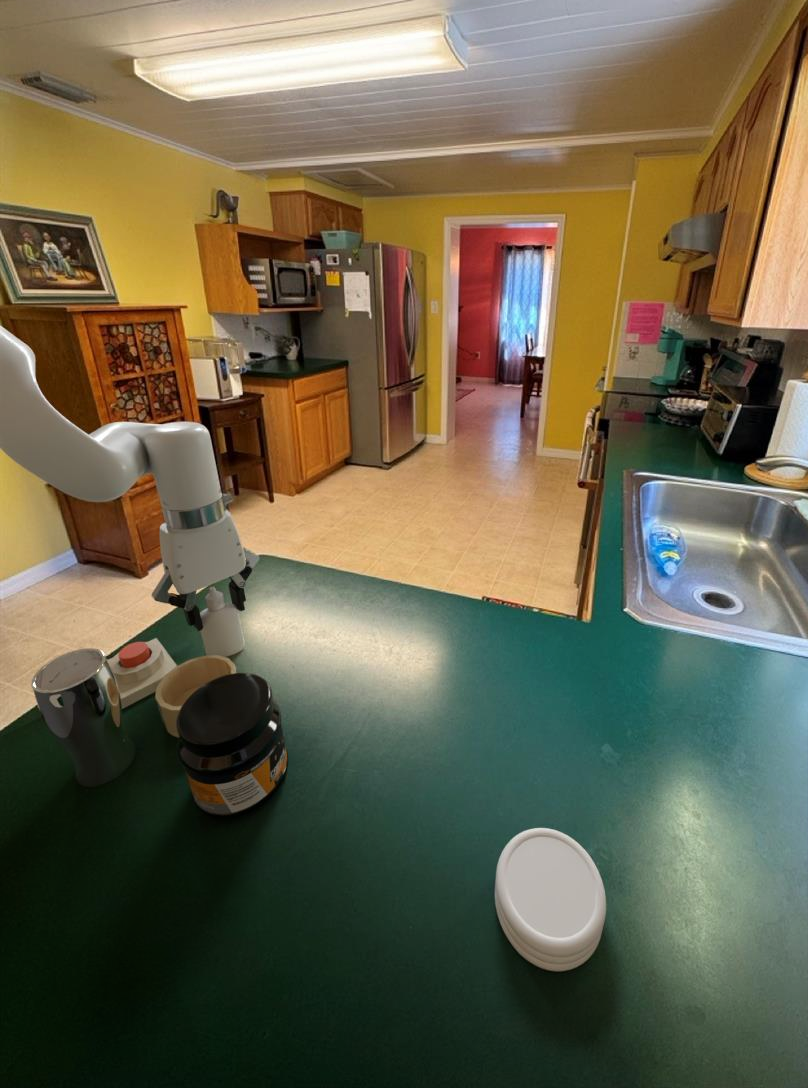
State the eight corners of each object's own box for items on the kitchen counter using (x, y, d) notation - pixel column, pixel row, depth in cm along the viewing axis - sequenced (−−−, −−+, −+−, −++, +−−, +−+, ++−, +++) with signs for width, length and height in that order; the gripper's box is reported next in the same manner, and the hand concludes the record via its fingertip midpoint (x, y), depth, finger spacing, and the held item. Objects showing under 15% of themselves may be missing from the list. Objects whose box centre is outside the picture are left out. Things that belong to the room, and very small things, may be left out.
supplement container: (251, 839, 50) (231, 760, 45) (171, 809, 52) (145, 731, 48) (307, 752, 59) (295, 679, 54) (237, 731, 62) (220, 660, 57)
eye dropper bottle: (216, 640, 78) (201, 579, 73) (249, 641, 77) (237, 580, 73) (202, 659, 74) (185, 596, 69) (237, 661, 73) (223, 597, 69)
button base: (100, 672, 71) (94, 654, 70) (159, 646, 76) (153, 628, 75) (120, 710, 65) (113, 691, 63) (182, 678, 70) (177, 659, 69)
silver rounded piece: (88, 803, 53) (44, 704, 47) (60, 772, 56) (17, 676, 51) (151, 755, 58) (119, 661, 53) (123, 729, 62) (90, 638, 56)
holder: (153, 709, 65) (145, 681, 63) (223, 671, 71) (217, 645, 69) (180, 752, 59) (171, 723, 57) (253, 706, 65) (248, 679, 63)
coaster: (623, 957, 41) (629, 934, 40) (514, 989, 39) (517, 967, 38) (572, 837, 50) (576, 815, 49) (482, 858, 48) (483, 836, 47)
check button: (118, 659, 69) (115, 650, 69) (145, 647, 72) (142, 638, 71) (125, 672, 67) (122, 662, 66) (153, 658, 69) (150, 649, 69)
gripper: (242, 487, 74) (259, 583, 81) (115, 523, 62) (148, 632, 69) (265, 500, 69) (282, 602, 76) (133, 542, 58) (166, 657, 65)
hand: (218, 615), depth 73 cm, fingers closed on eye dropper bottle, 5 cm apart
